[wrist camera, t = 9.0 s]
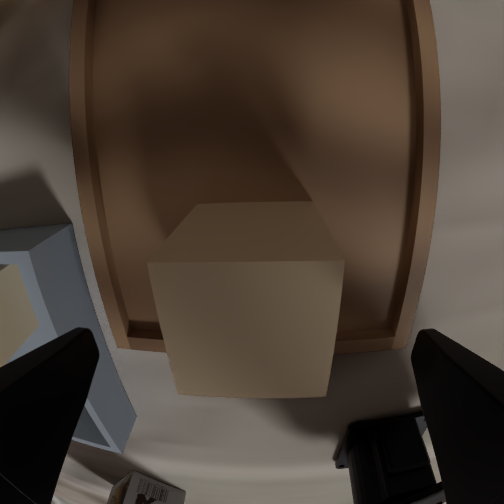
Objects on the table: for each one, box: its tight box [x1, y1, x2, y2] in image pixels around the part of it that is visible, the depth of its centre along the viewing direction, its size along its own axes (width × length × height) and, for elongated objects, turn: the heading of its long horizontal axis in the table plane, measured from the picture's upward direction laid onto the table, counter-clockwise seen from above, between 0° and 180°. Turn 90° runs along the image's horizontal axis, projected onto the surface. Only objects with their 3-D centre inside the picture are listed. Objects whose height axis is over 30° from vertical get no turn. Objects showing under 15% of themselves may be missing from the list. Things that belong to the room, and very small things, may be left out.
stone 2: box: [147, 201, 345, 398], centre depth 10 cm, size 4×4×6 cm
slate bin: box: [0, 223, 137, 454], centre depth 15 cm, size 14×14×4 cm
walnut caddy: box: [69, 0, 441, 354], centre depth 11 cm, size 19×15×1 cm
